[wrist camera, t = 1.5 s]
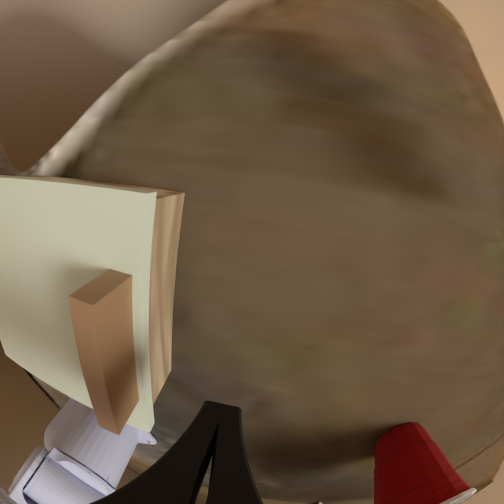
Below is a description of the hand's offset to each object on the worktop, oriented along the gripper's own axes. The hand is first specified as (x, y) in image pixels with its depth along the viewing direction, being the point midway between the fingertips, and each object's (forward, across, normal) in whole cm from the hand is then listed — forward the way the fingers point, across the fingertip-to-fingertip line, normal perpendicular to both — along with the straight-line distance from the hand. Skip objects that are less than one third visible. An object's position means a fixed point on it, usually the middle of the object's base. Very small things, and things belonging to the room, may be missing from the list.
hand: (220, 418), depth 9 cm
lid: (+4, +12, 0) cm, 13 cm away
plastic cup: (+9, -19, +13) cm, 25 cm away
